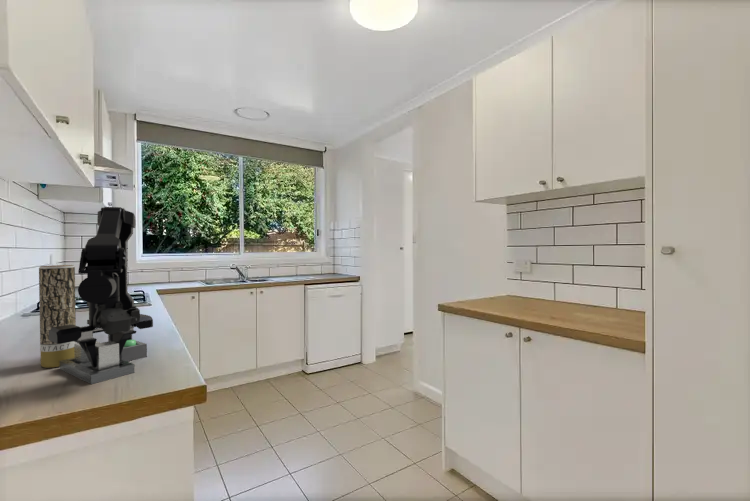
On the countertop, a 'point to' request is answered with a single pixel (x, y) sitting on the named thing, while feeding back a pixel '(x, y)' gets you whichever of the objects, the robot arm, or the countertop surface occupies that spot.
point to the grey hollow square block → (134, 352)
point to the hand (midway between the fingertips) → (105, 364)
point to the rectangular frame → (90, 376)
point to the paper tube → (56, 311)
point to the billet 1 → (80, 354)
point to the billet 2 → (106, 355)
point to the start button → (130, 343)
